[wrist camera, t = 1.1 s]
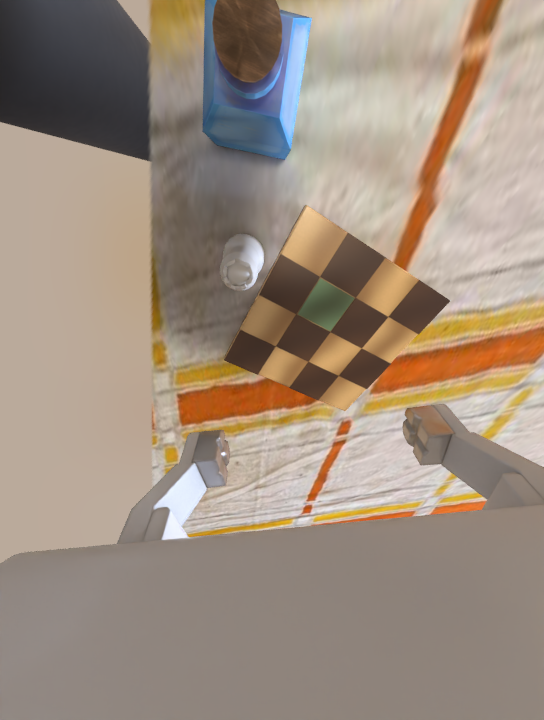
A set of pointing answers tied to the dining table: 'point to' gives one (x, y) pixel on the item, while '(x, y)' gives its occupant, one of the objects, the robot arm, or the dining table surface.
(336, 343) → the chessboard
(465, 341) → the dining table surface
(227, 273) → the rook chess piece
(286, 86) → the perfume bottle
